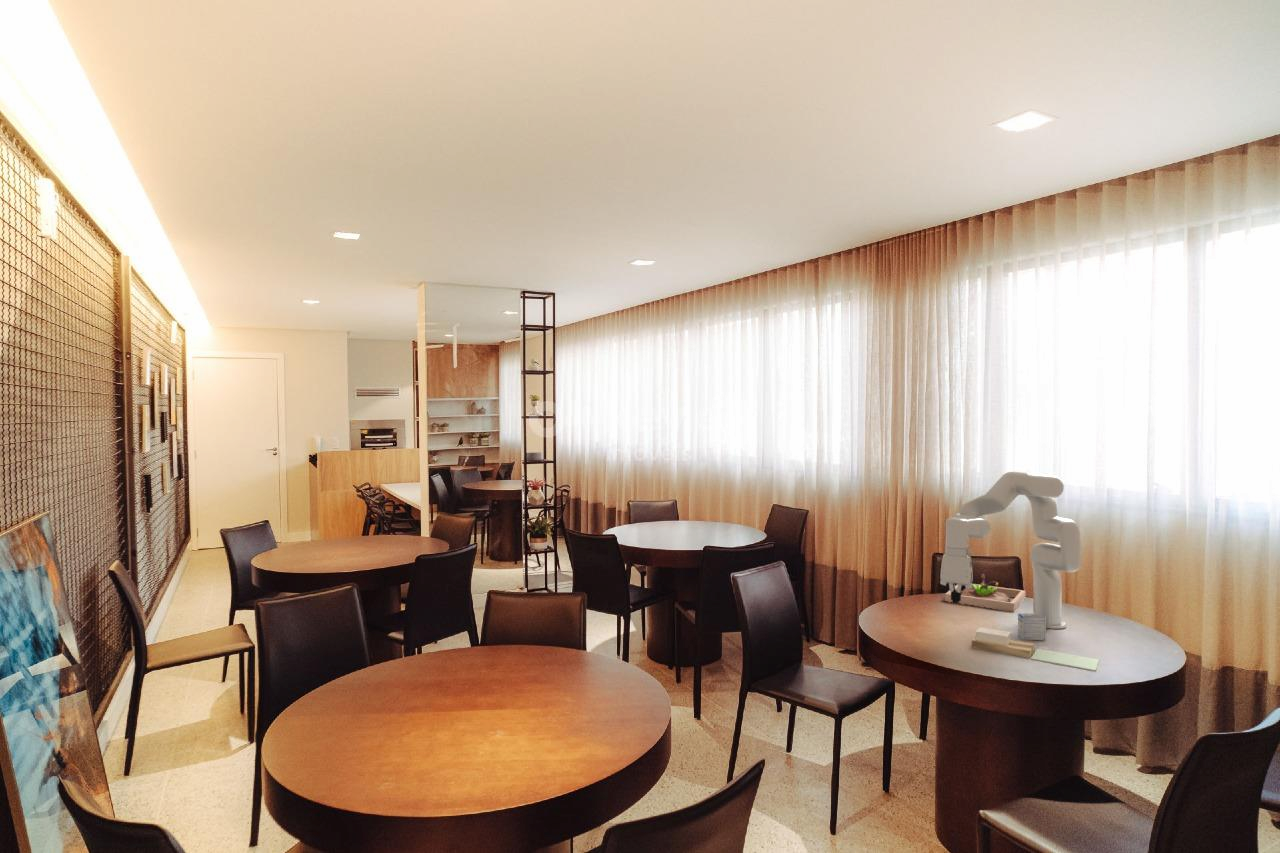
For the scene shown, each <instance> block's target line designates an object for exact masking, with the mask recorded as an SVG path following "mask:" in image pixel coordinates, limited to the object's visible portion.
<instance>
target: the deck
mask: <svg viewBox="0 0 1280 853" xmlns="http://www.w3.org/2000/svg"><path fill="white" fill-rule="evenodd" d="M972 648H973V649H978V650H983V651H988V652H994V653H999V654H1004V655H1008V656H1009V655H1010V656H1016V657H1021V658H1027V659H1031V658H1032V656H1033V654H1034V653H1035V651H1036V643H1034V642H1028V641H1025V640H1023V641H1021V640H1017V639H1012V638H1011V642H1010V643H1009V644H1008V645H1002V644H997V643H991V642H986V641H980V640H976V636H975V637H973V639H972V640H971V649H972Z"/></svg>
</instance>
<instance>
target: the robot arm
mask: <svg viewBox="0 0 1280 853" xmlns="http://www.w3.org/2000/svg"><path fill="white" fill-rule="evenodd" d="M1064 488H1065V486H1064V482H1063V480H1062V479H1061V478H1060V477H1058V476H1057V475H1050V474H1049V475H1047V474H1041V473H1034V472H1033V473H1032V472H1026V471H1025V472H1024V471H1023V472H1020V471H1008V472H1006V473H1004V474H1002V476H1001V477H1000V478H999V479H998V480H997V481H996V482H995V483H994V484H993V486H991V487H990V488H989V490H988V491H987V492H986V493H984V494H983V495H980V496H978V497H975V498H973V499H971V500H970V501H967V502H965V503H964V504H963V505H961V506H960V507H959V508H958V509H957V510H956V511H955V512H954V513H953V515H951V517H948V518H946V519H945V536H944V537H945V543H944V544H945V547H944V548H945V549H944V551H945V552H944V554H943V555H942V559H941V564H940V566H941V567H940V581H939V582H940V583H939V584H940V585H942V586H946V587H947V588H948V590H950V591H951V600H952V604H956V605H957V604H958V603H959V601H961V594H962V592H961V591H963V590H964V589H970V588H972V587H973V586H972V584H973V579H974V578H973V577H974V576H973V573H974V572H973V565H972V564H973V562H972V556H969V555H973V550H970V549H969V538H975V539H983V538H986V537H987V536H988V535H989V534H990V532H991V524H990V523H989V521H987V520H986V519H985V518H983V517H982V516H986V515H992V514H997V513H1000V512H1003V511H1005V510H1006V509H1007V508H1008V507H1009V506H1010V505H1011V504H1012V502H1013V501H1014V500H1016V498H1017V497H1018V496H1025V497H1026V499H1027V500H1028V501H1029V503H1030V505H1031V506H1030V507H1031V515H1032V518H1031V519H1032V530H1033V534H1034V537H1036V538H1037V539H1039V540H1043V541H1046V542H1038V543H1036V544H1034V545H1033V546H1032V547H1031V549H1030V554H1029V555H1030V560H1031V561H1030V562H1031V565H1032V566H1031V567H1032V574H1033V575H1032V576H1033V578H1032V579H1033V580H1032V582H1033V586H1032V587H1033V589H1032V590H1033V593H1032V594H1033V601H1032V602H1033V604H1032V605H1033V611H1032V612H1033V613H1032V614H1041V615H1043V616H1044V617H1046V629H1053V630H1054V629H1055V630H1057V629H1058V630H1060V629H1065V628H1067V623H1066V622H1065V621H1064V620H1062V617H1063V616H1062V614H1063V613H1062V611H1063V610H1062V602H1063V601H1062V598H1063V595H1062V592H1063V591H1062V587H1063V586H1062V585H1063V583H1062V582H1063V580H1062V578H1061V574H1060V573H1059V571H1060V572H1064V573H1075V572H1077V571H1079V569H1080V568H1081V565H1082V543H1081V531H1080V527H1079V525H1078V523H1076V521H1074V520H1073V519H1070V518H1066V517H1065V518H1064V517H1059V514H1058V508H1057V507H1058V506H1057V502H1056V498H1059V497H1060V496H1061V495H1062V494H1063V492H1064ZM1048 542H1049V543H1048ZM1051 542H1054V543H1055V544H1054V543H1051ZM1056 543H1059V544H1056ZM955 584H956V585H957V584H958V587H957V591H956V589H955V586H956V585H955ZM958 605H959V604H958Z"/></svg>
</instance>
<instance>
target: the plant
mask: <svg viewBox="0 0 1280 853" xmlns="http://www.w3.org/2000/svg"><path fill="white" fill-rule="evenodd" d="M980 577H981V578H982V581H981V583H980V584H978V585H979V587H978V586H976V585H973V586H974V587H975V589H976V590H972V589H969V590H963V591H962V592H961V595H963V596H970V597H977V598H984V599H991V600H998V601H1005V602H1011V597H1008V596H1007V595H1006V594H1004V593H1001V592H997V591H998V590H996V591H995V589H997V588H992V589H990V588H991V586H992V585H991V584H992V583H994V585H995V587H999V586H998V585H999V582H997V581H995V580H994V581H989V582H988V583H986V578H985V577H986V576H985V574H984V573H982V574H981V576H980Z"/></svg>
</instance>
